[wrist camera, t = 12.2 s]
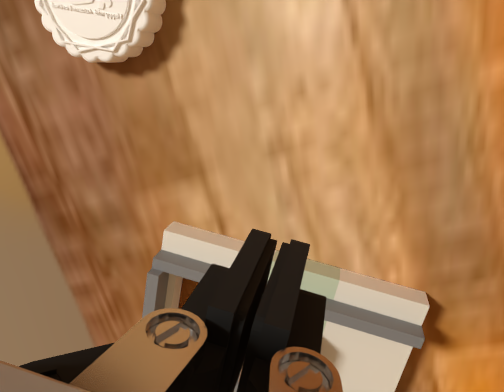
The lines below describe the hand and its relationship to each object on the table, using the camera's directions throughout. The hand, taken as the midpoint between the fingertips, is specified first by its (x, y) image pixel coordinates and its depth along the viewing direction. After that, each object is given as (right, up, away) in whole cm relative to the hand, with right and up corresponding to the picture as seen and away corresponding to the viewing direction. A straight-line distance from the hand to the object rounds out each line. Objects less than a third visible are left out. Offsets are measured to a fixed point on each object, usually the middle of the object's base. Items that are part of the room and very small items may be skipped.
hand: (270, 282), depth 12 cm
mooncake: (-14, +21, +28) cm, 38 cm away
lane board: (+2, -12, +35) cm, 37 cm away
